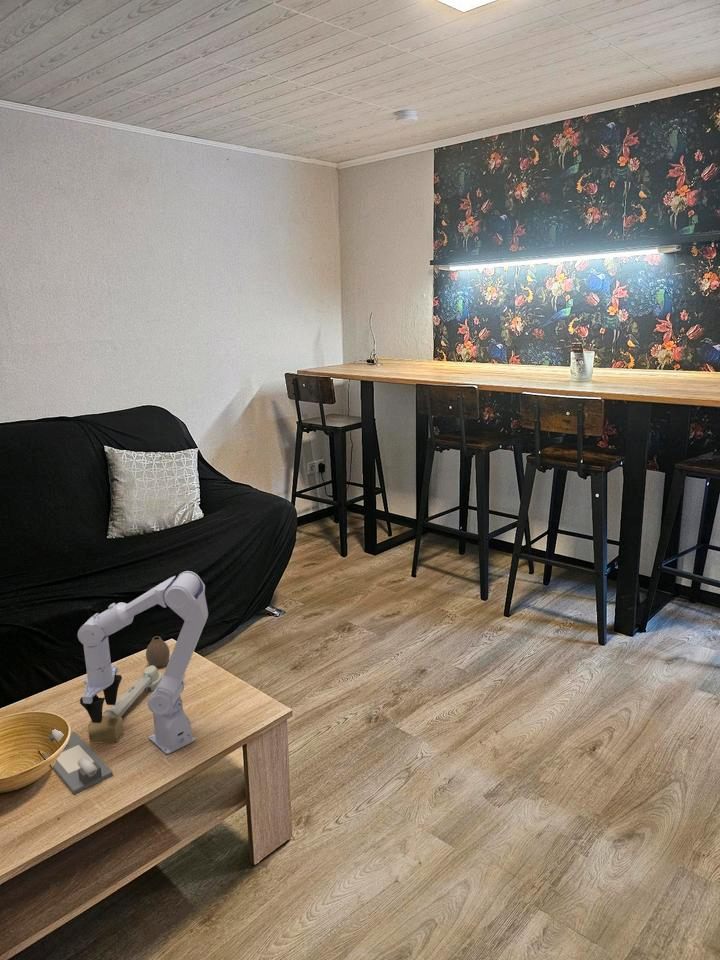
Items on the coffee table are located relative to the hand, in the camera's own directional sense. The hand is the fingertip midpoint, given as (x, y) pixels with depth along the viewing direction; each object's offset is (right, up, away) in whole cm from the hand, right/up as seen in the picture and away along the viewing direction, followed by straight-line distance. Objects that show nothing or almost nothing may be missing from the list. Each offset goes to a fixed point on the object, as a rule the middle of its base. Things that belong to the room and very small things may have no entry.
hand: (104, 713), depth 169 cm
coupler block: (0, -7, +1) cm, 7 cm away
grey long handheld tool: (+2, -4, +16) cm, 16 cm away
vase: (+3, +2, +37) cm, 37 cm away
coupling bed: (-4, -9, -8) cm, 13 cm away
